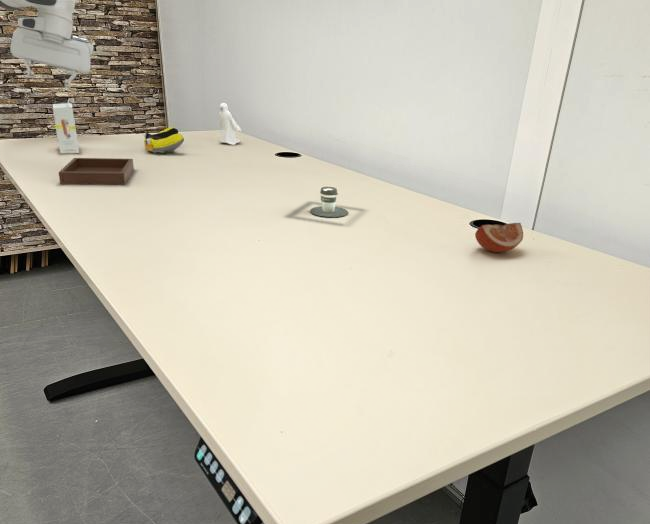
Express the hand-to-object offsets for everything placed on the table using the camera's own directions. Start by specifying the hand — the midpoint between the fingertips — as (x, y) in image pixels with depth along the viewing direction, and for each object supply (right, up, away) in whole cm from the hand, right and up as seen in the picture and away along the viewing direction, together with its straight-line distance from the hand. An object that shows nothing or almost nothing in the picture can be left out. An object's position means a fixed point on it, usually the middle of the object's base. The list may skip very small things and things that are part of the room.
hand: (49, 82), depth 165 cm
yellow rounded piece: (+31, -18, +3) cm, 36 cm away
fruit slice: (+107, -55, -62) cm, 136 cm away
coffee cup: (+78, -45, -46) cm, 101 cm away
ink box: (+7, -20, -4) cm, 22 cm away
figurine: (+48, -12, +18) cm, 53 cm away
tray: (+25, -33, -28) cm, 50 cm away
